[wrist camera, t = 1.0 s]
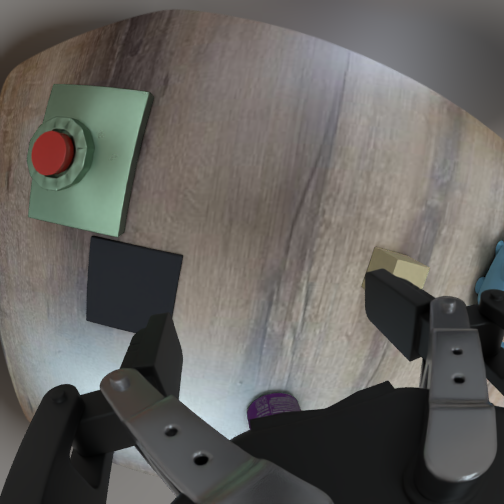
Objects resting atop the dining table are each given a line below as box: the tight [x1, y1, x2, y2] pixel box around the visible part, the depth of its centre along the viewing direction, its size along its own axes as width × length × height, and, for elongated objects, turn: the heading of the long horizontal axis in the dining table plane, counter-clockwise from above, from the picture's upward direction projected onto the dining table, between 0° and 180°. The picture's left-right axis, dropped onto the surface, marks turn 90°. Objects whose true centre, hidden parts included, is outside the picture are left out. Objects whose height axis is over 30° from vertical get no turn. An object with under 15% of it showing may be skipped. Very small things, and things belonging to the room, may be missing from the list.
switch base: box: [27, 84, 154, 237], centre depth 24 cm, size 14×11×4 cm
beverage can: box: [247, 393, 301, 430], centre depth 32 cm, size 7×7×12 cm
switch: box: [31, 131, 74, 175], centre depth 22 cm, size 4×4×2 cm
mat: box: [86, 236, 183, 333], centre depth 30 cm, size 10×10×1 cm
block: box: [362, 247, 430, 289], centre depth 31 cm, size 5×5×5 cm
